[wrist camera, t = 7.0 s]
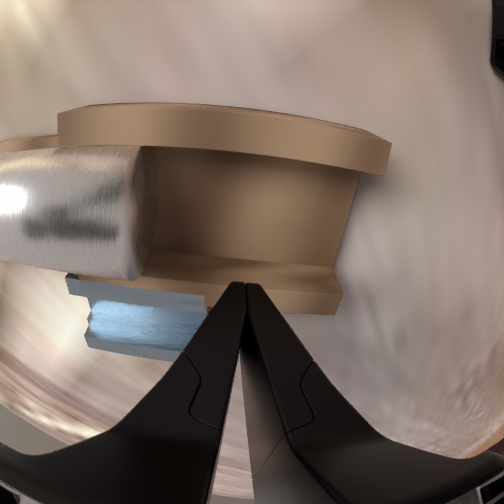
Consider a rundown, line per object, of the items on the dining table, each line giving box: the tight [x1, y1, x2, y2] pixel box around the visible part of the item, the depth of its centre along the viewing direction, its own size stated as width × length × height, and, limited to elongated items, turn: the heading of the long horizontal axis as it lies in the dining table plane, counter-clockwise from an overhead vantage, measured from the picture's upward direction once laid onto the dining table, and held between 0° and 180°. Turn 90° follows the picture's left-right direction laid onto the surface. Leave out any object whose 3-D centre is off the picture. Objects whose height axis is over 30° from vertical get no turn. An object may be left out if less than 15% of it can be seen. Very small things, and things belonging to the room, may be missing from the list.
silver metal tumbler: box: [0, 145, 157, 281], centre depth 11 cm, size 13×6×6 cm, turn 83°
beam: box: [0, 103, 392, 315], centre depth 13 cm, size 22×9×3 cm, turn 83°
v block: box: [65, 273, 208, 362], centre depth 17 cm, size 8×6×3 cm
